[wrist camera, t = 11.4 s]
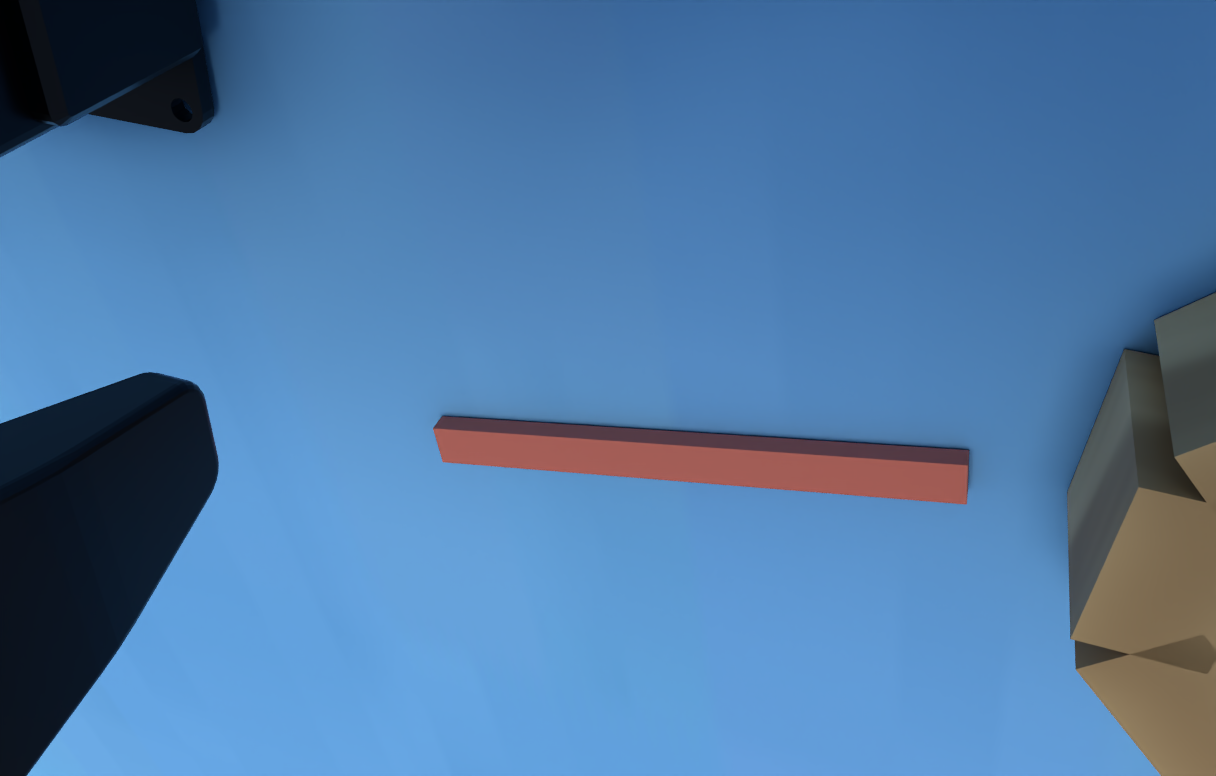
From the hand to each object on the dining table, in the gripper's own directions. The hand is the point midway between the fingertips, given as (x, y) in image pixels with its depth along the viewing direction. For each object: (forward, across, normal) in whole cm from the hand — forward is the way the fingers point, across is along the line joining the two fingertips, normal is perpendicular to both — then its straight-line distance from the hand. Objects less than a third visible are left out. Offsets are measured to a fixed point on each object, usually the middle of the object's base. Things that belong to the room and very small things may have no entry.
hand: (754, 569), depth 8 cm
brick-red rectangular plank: (+13, +3, +10) cm, 17 cm away
